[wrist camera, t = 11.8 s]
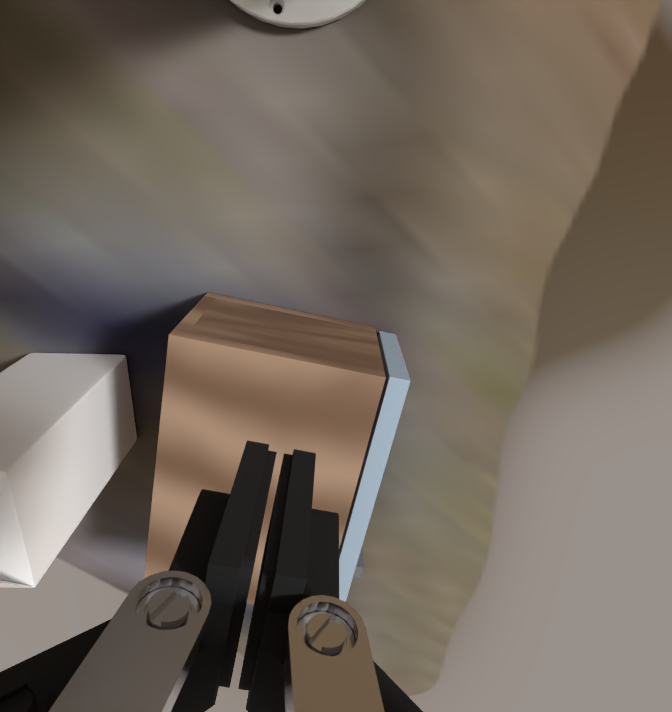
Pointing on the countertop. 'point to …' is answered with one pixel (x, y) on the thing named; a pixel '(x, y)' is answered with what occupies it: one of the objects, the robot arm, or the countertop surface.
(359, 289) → the countertop surface
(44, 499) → the milk carton
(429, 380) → the countertop surface
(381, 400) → the cabinet door
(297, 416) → the walnut cabinet
